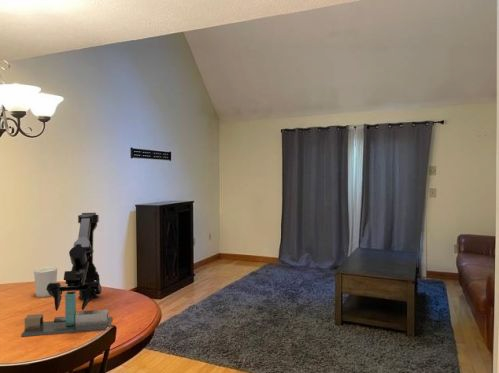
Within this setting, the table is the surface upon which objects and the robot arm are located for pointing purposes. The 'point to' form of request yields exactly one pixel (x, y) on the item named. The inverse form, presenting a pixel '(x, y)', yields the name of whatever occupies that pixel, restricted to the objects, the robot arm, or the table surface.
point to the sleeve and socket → (82, 323)
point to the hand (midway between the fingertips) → (69, 309)
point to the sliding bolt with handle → (68, 309)
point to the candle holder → (44, 280)
